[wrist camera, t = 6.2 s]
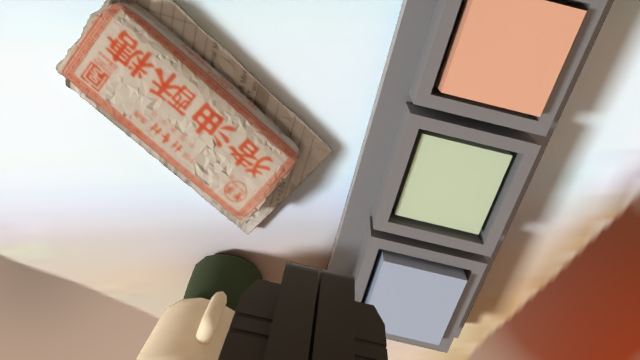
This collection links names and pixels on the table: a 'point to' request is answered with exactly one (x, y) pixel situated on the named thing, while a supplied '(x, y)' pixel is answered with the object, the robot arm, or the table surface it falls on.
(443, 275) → the slate button
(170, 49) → the packaged product
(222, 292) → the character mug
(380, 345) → the robot arm
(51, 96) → the table surface
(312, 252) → the table surface
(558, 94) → the button panel
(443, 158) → the sage button
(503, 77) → the terracotta button
